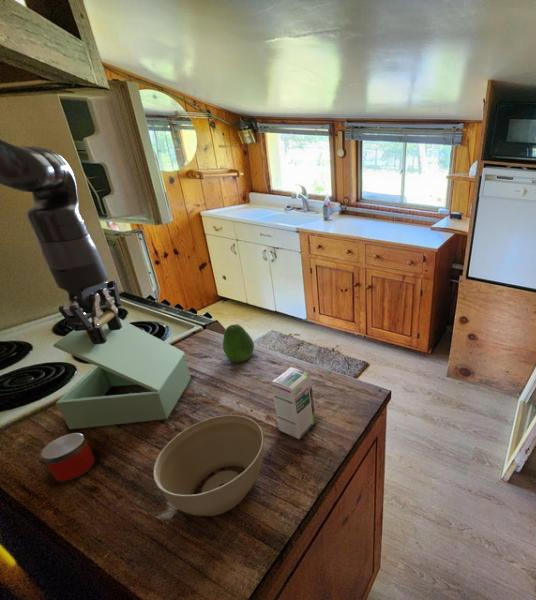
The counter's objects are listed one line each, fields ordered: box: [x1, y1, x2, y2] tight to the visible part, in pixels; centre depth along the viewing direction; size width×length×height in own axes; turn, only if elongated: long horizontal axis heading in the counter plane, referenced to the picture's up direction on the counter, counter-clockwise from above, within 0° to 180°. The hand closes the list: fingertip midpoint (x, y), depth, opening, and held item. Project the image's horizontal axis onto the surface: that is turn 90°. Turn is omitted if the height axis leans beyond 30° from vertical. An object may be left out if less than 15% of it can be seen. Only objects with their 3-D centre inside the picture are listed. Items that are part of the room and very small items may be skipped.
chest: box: [55, 354, 192, 430], centre depth 76 cm, size 19×15×8 cm
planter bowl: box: [152, 414, 265, 517], centre depth 57 cm, size 16×16×11 cm
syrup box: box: [270, 366, 317, 440], centre depth 70 cm, size 6×6×14 cm
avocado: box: [222, 323, 255, 363], centre depth 93 cm, size 8×8×12 cm
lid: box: [52, 311, 186, 393], centre depth 71 cm, size 19×15×5 cm
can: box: [40, 432, 96, 483], centre depth 60 cm, size 6×6×7 cm
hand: (108, 335), depth 70 cm, fingers closed on lid, 5 cm apart
